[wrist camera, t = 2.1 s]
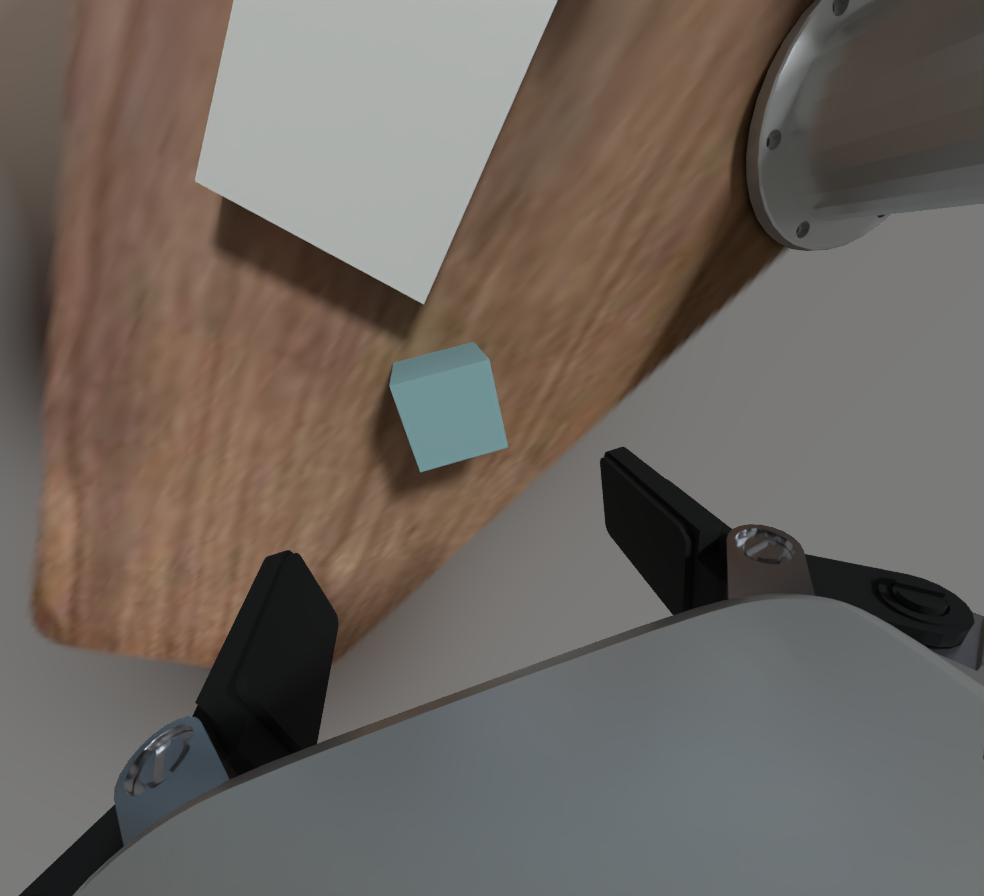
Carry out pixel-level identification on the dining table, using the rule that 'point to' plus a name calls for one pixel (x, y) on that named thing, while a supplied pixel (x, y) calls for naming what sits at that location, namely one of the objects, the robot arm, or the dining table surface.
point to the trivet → (366, 120)
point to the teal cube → (448, 405)
